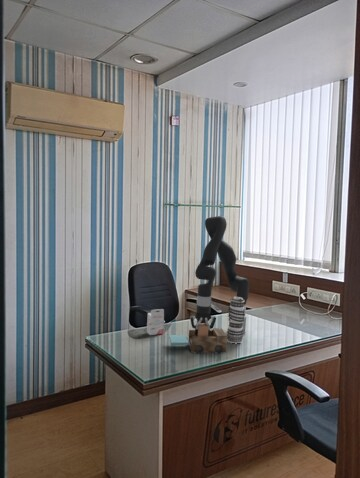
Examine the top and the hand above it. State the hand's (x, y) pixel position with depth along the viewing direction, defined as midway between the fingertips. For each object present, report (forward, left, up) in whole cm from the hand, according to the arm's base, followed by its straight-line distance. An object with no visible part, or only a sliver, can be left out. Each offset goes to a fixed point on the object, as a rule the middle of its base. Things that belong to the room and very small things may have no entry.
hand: (201, 335), depth 211 cm
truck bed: (-3, 0, -7) cm, 7 cm away
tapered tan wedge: (0, 0, -1) cm, 1 cm away
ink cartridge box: (+23, -23, -7) cm, 33 cm away
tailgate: (+7, 0, -3) cm, 8 cm away
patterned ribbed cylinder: (-21, -11, -7) cm, 25 cm away
